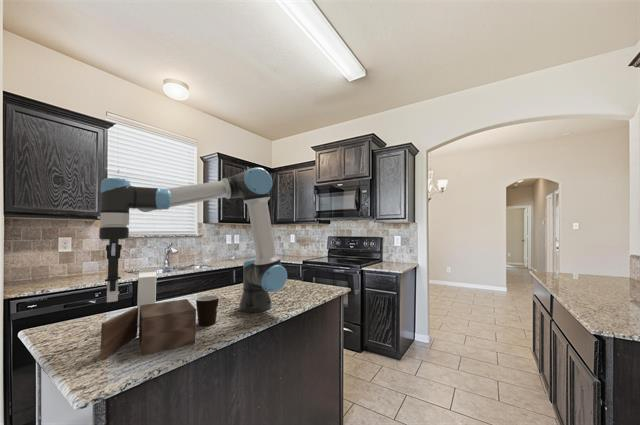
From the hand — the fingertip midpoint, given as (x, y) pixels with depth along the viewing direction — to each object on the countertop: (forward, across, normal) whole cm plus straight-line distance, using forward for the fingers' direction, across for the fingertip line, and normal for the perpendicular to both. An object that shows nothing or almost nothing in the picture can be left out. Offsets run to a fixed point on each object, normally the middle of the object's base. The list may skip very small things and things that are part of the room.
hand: (112, 301), depth 86 cm
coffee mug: (+16, -8, +32) cm, 36 cm away
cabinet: (+15, +2, +15) cm, 21 cm away
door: (+15, 0, +2) cm, 15 cm away
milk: (+15, -22, +10) cm, 29 cm away
